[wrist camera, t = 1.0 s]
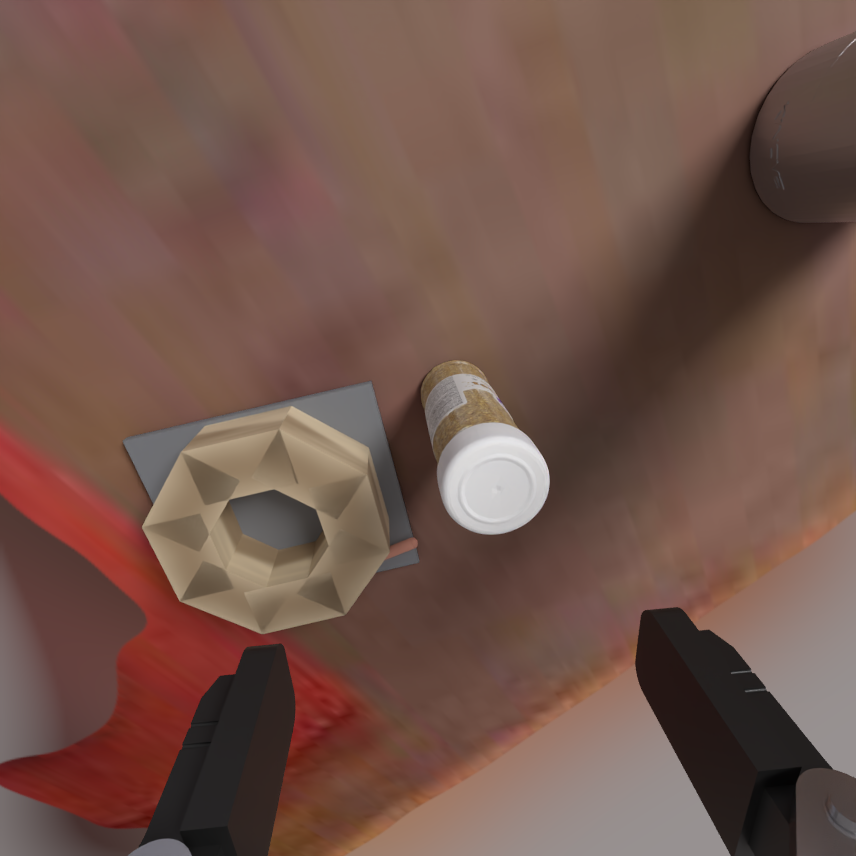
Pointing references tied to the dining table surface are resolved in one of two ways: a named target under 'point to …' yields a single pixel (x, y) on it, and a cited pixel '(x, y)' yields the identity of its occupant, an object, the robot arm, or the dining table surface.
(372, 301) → the dining table surface
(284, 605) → the octagonal faceted ring
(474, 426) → the sprinkles bottle
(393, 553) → the reddish pink rod
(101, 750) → the dining table surface
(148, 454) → the mat
